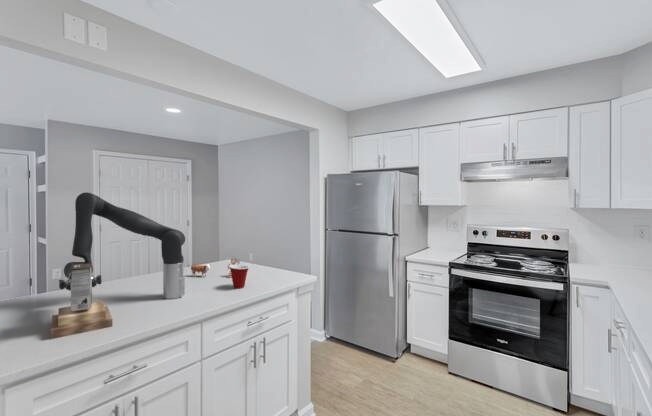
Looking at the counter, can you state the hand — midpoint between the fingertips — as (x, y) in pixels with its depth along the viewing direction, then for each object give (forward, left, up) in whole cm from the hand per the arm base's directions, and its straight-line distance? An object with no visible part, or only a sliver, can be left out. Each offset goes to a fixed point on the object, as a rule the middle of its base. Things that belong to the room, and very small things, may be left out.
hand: (81, 286), depth 122 cm
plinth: (+1, -2, -16) cm, 16 cm away
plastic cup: (-54, -48, -16) cm, 74 cm away
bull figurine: (-28, -75, -16) cm, 82 cm away
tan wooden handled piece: (-48, -73, -16) cm, 89 cm away
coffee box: (+1, -2, -9) cm, 9 cm away
